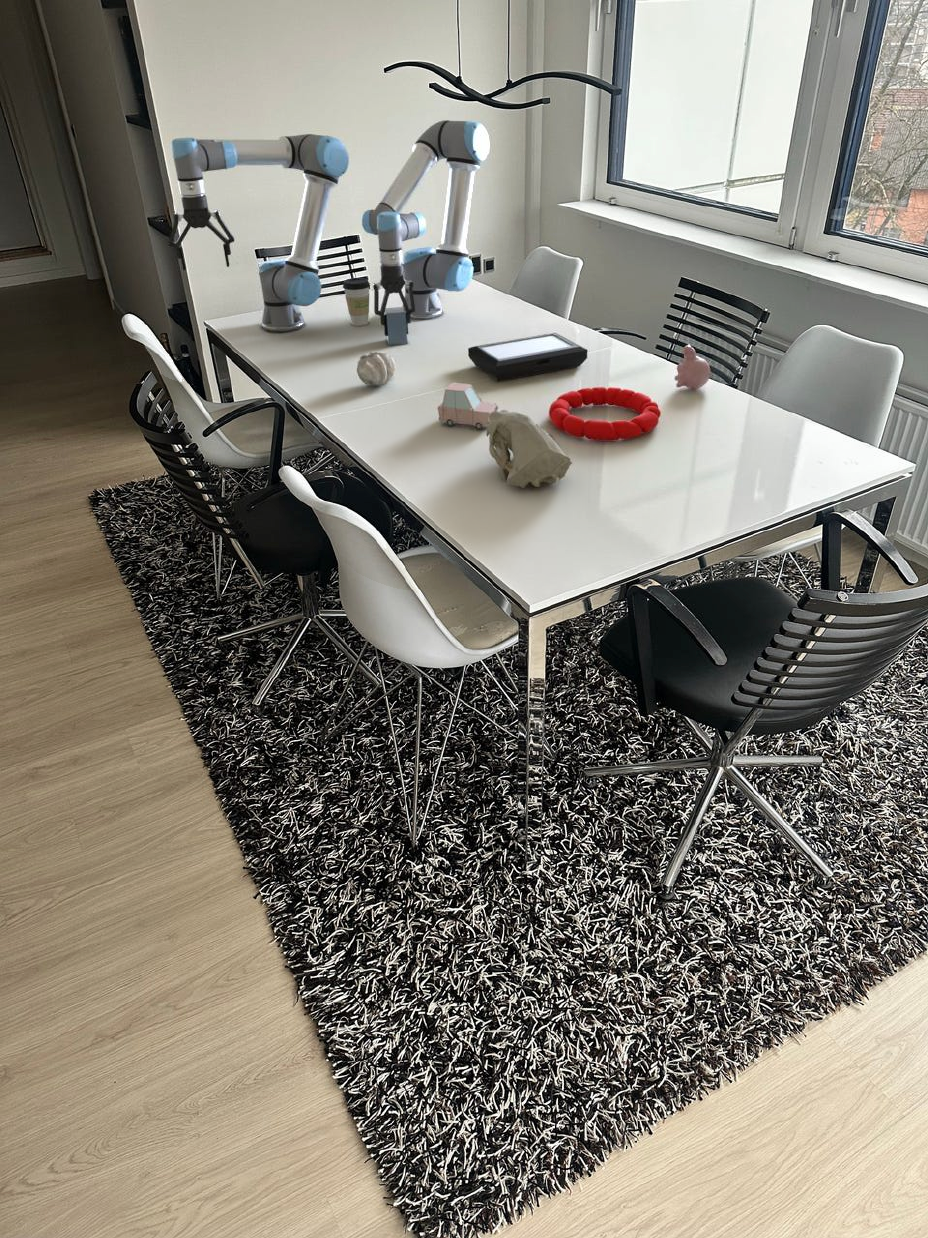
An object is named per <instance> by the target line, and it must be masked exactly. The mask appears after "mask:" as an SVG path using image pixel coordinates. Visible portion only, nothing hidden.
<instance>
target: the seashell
mask: <svg viewBox="0 0 928 1238" xmlns="http://www.w3.org/2000/svg"><path fill="white" fill-rule="evenodd" d="M356 373H357V376H358V378H359V380H360V381H361V382H362V383H363V384H365V385H367V386H375V385H376V386H384V385H387V384H388V383H389V382H390V381H391V379H392V378H393V377H394V375H395V374H396V363H395V360H394V358H393V356H391V355H388V354H387V353H386V352H385V353H383V352H376V351H373V352H371V351H370V352H369V354H368V355H367V354H363V355H360V357H359V360H358V361H357V366H356Z"/></svg>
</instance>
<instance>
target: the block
mask: <svg viewBox="0 0 928 1238" xmlns="http://www.w3.org/2000/svg"><path fill="white" fill-rule="evenodd" d="M384 314H385V315H386V321H387V335H388V336H385V337H386V342H387V345H388V346H398V345H400V346H401V345H408V334H407V329H406V313H405V310H404V308H403V307H402V306H397V307H386V309H385V313H384Z"/></svg>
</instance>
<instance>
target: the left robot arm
mask: <svg viewBox="0 0 928 1238" xmlns="http://www.w3.org/2000/svg"><path fill="white" fill-rule="evenodd" d="M170 145H171V151H172V159H173V163H174V167H175V172H176V177H177V184H178V188H179V194H180V195H181V198H180V199H181V204H182V211H183V213H178V212H175V213H174V214H173V221H174V222H173V226H172V230H171V233H170V237H169V241H168V246H169V247H172V248H174V249H175V253H176V258H177V259H178V260H181V265H182V271H187V265H186V259H185V254H184V249H183V246H181V244H182V242H183V241H184V239H185V238H186V236H187V234H188V232H189V231H190V229H191V228H192V229H198V228H200V229H205V228H206V227H207V228H208V230H210V231H211V232H213V233H214V235H216V237H218V238H219V239H220V240H221V242H223V244H222V246H223V252H224V259H225V263H226V265H225V266H226V267H227V268H229V267H230V260H229V256H231V255H232V250H231V244H232V243H234V242H235V237H234V235H233V233H232V232H231V231H230V229H229V227H228V226H227V224H226V223H225V222H224V220H223V218H222V216H221V213H220V211H219V210H218V209H216V210H215V211H210V209H209V204H208V199H207V196H206V194H205V193H206V187H205V182H204V177H203V173H206V172H213V171H221V170H228V169H233V168H235V167H236V166H237V167H238V166H239V167H241V166H280V167H281V168H282V169H292V170H293V169H294V170H297V171H303V172H302V173H303V174H302V175H303V178H304V180H305V186H304V190H303V191H304V192H303V196H302V201H301V207H300V210H299V215H298V221H297V226H296V230H295V235H294V240H293V244H292V250H291V255H290V256H289V257H287V258H277V259H271V260H266V261H262V262H260V263H259V264H258V275H259V281H260V287H261V292H262V293H261V294H262V299H263V313H262V319H261V326H262V330H264V331H265V332H271V333H286V332H293V331H296V330H297V331H298V330H300V329H302V328H304V326H305V318H304V317H303V314H302V312H301V310H300V307H308V306H311V305H313V304H314V303H315V302H317V301H318V300H319V297H320V295H321V292H322V282H321V281H320V280H321V279H320V277H318V276H319V273H320V268H319V266H318V265H317V260H318V256H319V251H320V246H321V241H322V236H323V232H324V227H325V223H326V218H327V212H328V208H329V203H330V200H331V194H332V191H333V189H335V188H336V187H338V184H339V180H340V177H342V176H343V175H344V174H345V173H347V170H348V168H349V164H350V157H349V152H348V149H347V147H346V146H345V144H344V142H343V141H341V140H340V139H339V138H337V137H334V136H330V135H323V134H321V135H320V134H315V133H314V134H313V133H307V134H304V133H303V134H297V135H288V136H286V135H285V136H283V135H282V136H280V137H279V138H278V139H222V138H221V139H217V138H215V139H214V138H213V139H212V138H211V139H204V138H203V139H201V138H194V137H178V138H174V139H172V140H171V143H170ZM211 217H213V219H214V220H216V221H217V223H218V224H219V226H220V228H221V229H222V230H223V232H224V233H225V235H226V236H227V237H226V236H225V235H224V234H223V232H221V231H220V230H219V229H218V228H217V227H216V226H215V225H214V224H213V222H211V220H210V219H211ZM182 219H184V221H185V222H186V225H185V226H184V228H183V230H182V232H181V233H180V234H179V237H178V238H177V240H176V241H175V238H176V234H177V231H178V228H179V222H181V221H182Z"/></svg>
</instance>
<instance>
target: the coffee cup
mask: <svg viewBox="0 0 928 1238" xmlns="http://www.w3.org/2000/svg"><path fill="white" fill-rule="evenodd" d="M370 287H371V283H370V282H369V279H367V278H365V277H351V278H347V279H345V280H344V281H343V285H342V288H343V290H344V297H345V301H346V305H347V310H348V314H349V318H350V323H351V325H353V326H357V327H359V326H365V325H368V324H369V317H370V316H369V313H370Z"/></svg>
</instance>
